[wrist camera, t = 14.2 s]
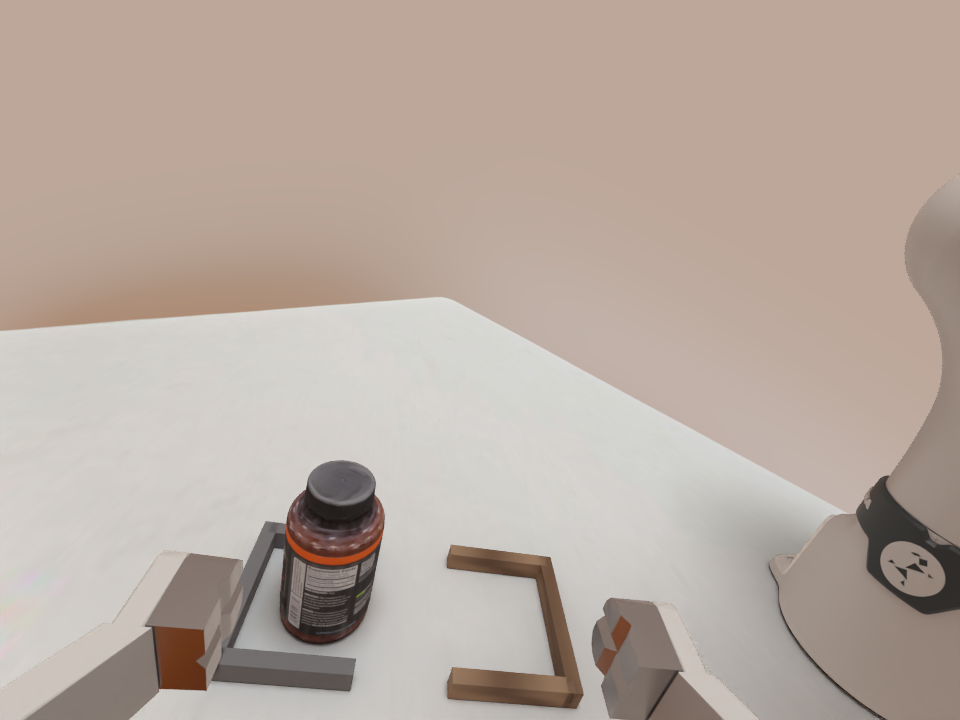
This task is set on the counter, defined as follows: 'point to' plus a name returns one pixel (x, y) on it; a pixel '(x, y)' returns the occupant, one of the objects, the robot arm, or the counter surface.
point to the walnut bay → (566, 680)
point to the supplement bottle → (331, 552)
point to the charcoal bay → (267, 663)
